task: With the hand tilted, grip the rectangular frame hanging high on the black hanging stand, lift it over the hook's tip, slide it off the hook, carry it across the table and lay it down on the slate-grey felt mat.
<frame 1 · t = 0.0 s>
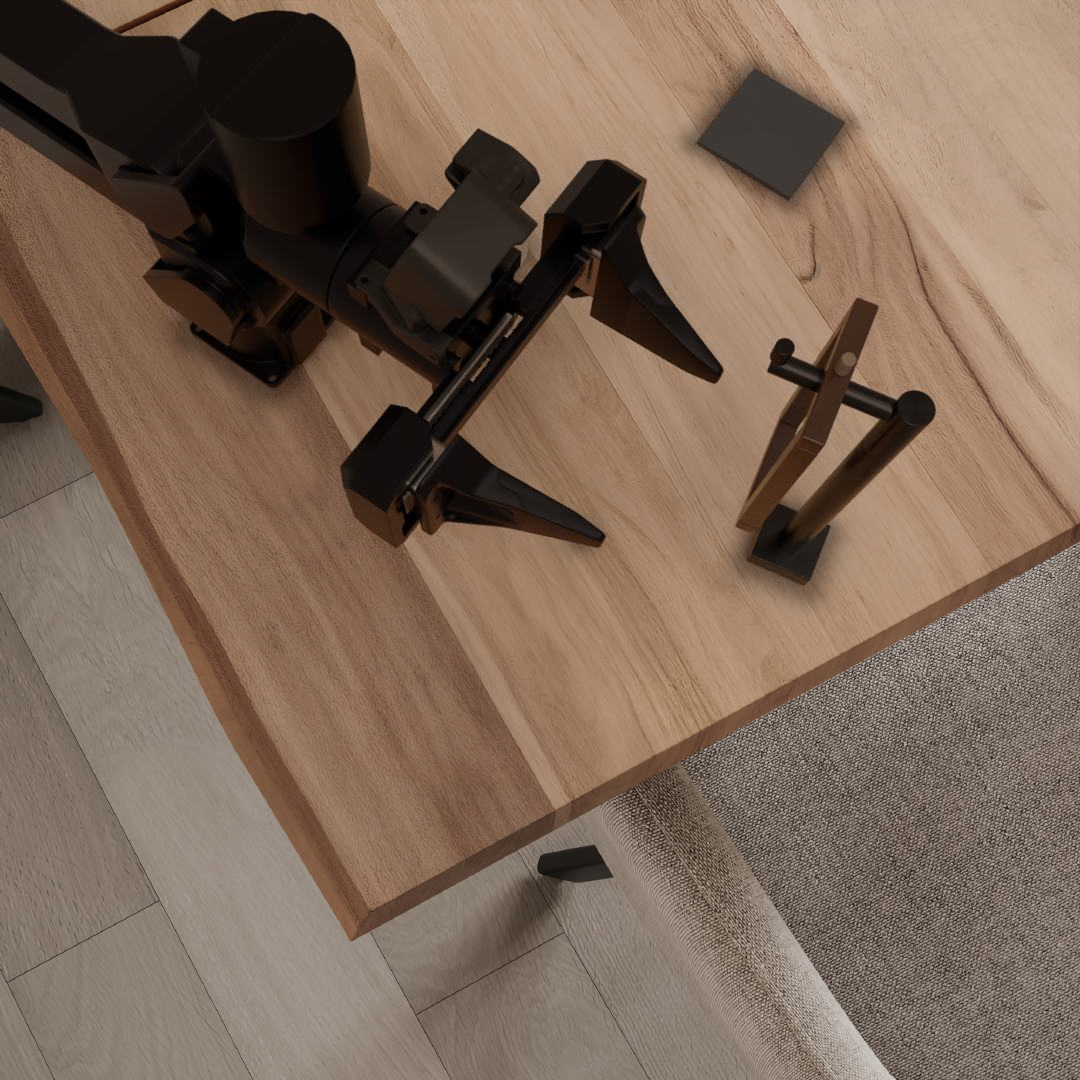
hand: (663, 457, 46), 17 cm above the table, tool horizontal, fingers open, 9 cm apart
felt mat: (770, 135, 71), on the table
rectangular frame: (767, 472, 55), point 8 cm above the table, touching black hanging stand
black hanging stand: (785, 546, 63), on the table
rook chess piece: (492, 252, 68), on the table
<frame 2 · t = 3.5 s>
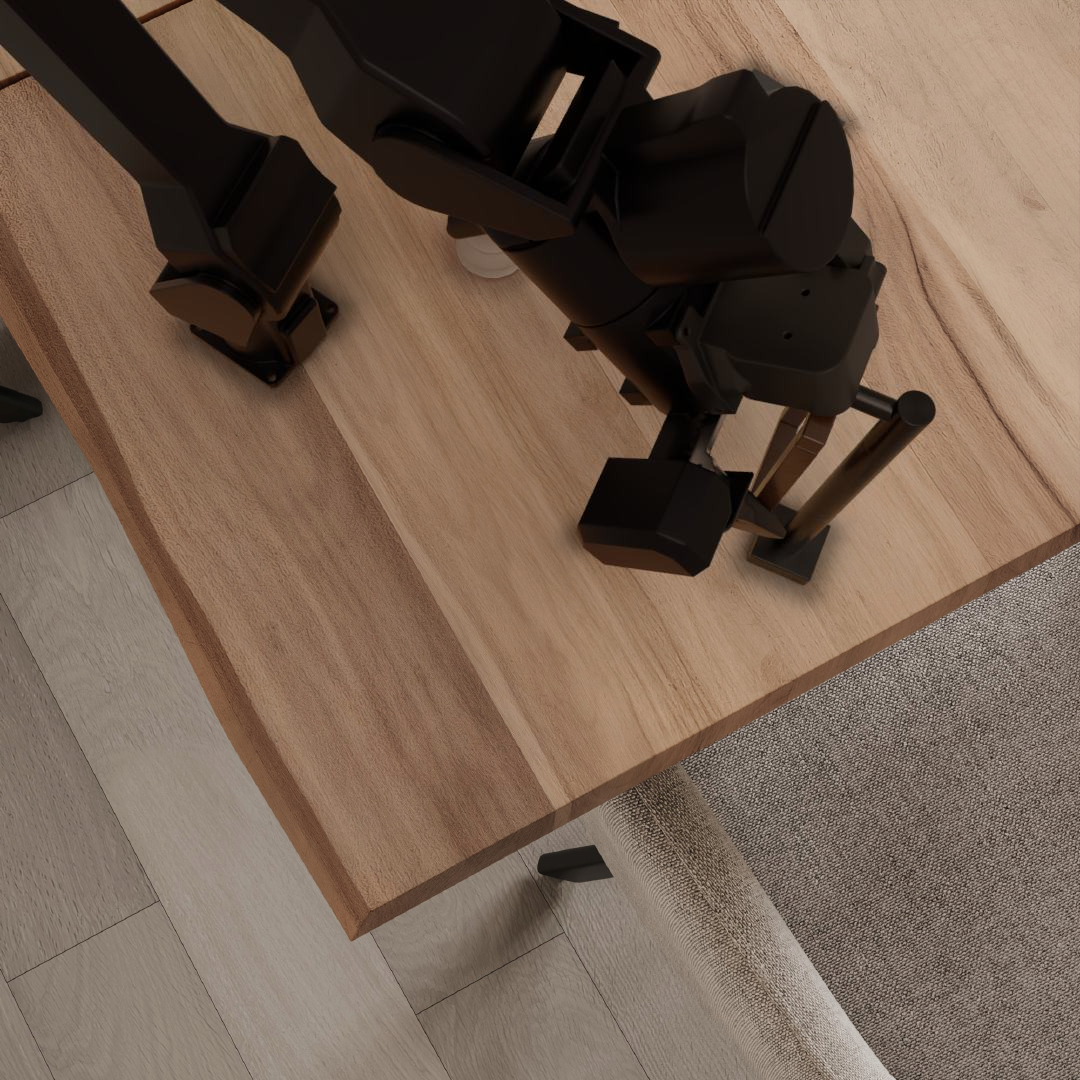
hand: (801, 472, 54), 10 cm above the table, tool tilted 45°, fingers closed on rectangular frame, 7 cm apart
rectangular frame: (767, 472, 55), point 9 cm above the table, touching black hanging stand, gripper
everything else where it was.
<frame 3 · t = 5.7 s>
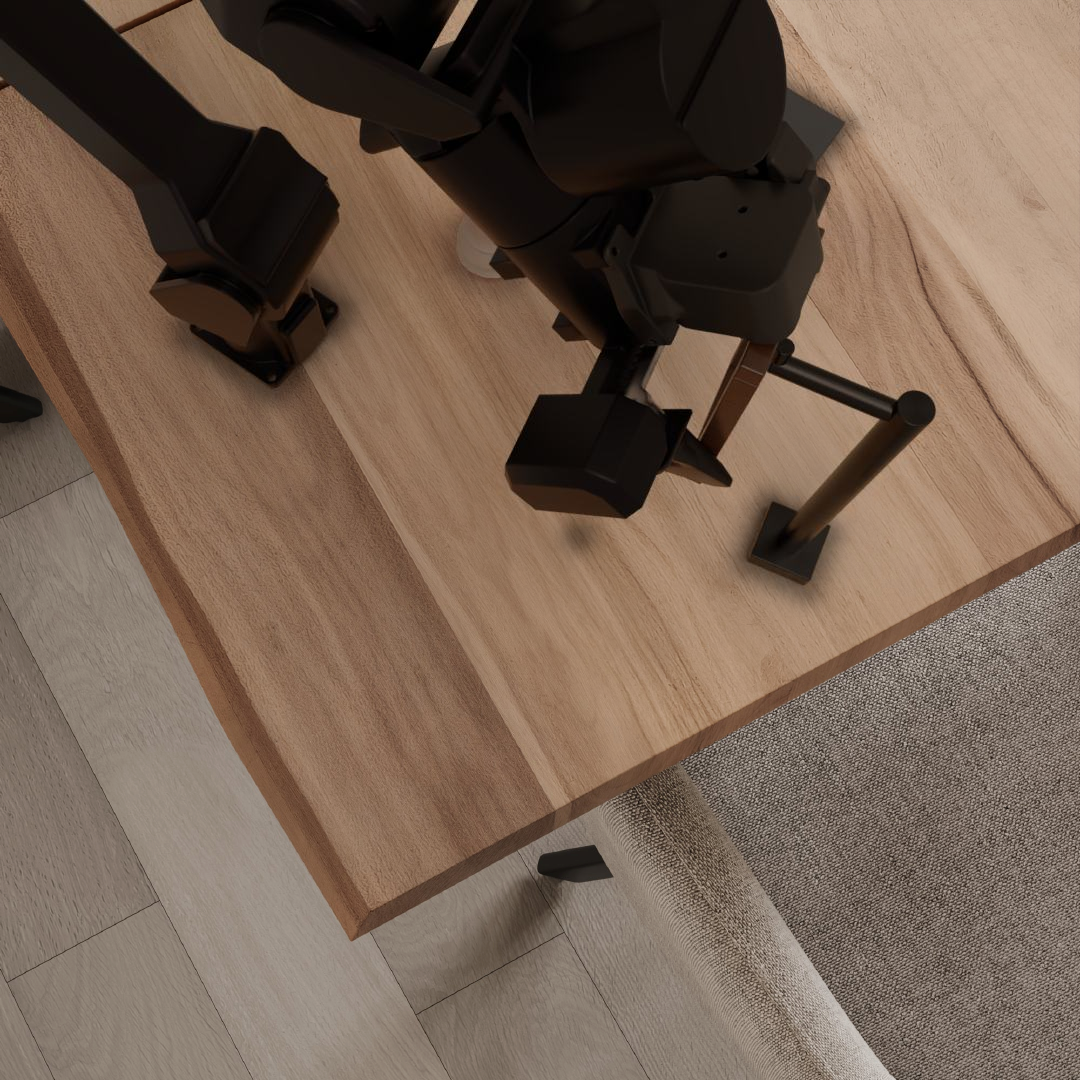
hand: (750, 418, 51), 13 cm above the table, tool tilted 45°, fingers closed on rectangular frame, 7 cm apart
rectangular frame: (716, 419, 52), point 12 cm above the table, touching gripper
everything else where it was.
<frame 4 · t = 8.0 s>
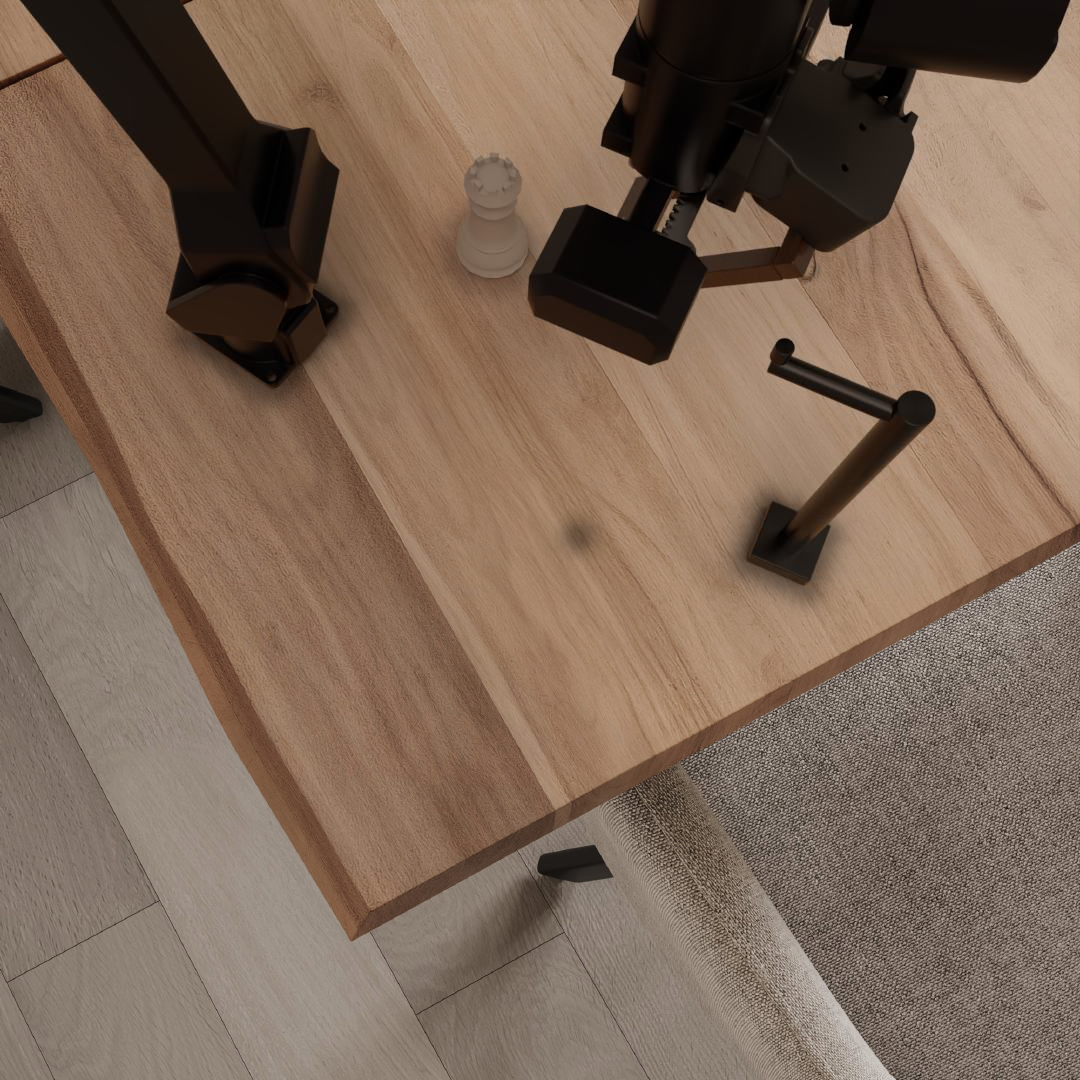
hand: (654, 253, 53), 13 cm above the table, tool pointing down, fingers closed on rectangular frame, 7 cm apart
rectangular frame: (614, 237, 54), point 13 cm above the table, tilted 45°, touching gripper
everything else where it was.
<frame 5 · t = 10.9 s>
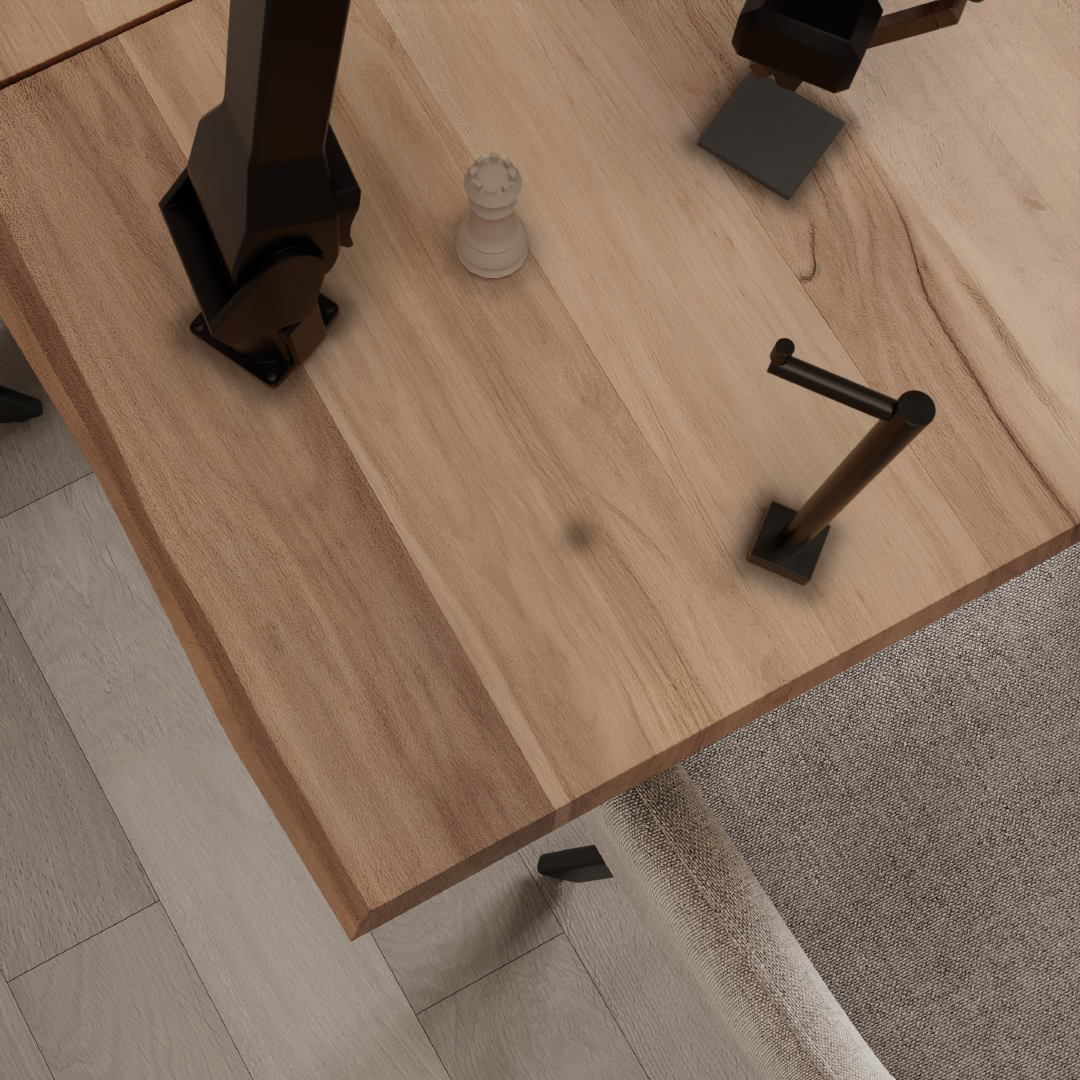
hand: (806, 40, 63), 9 cm above the table, tool pointing down, fingers closed on rectangular frame, 7 cm apart
rectangular frame: (772, 28, 63), point 8 cm above the table, tilted 45°, touching gripper
everything else where it was.
when the fingers open (3 cm above the table, at t = 13.1 s): rectangular frame drops 2 cm and tips over, resting on felt mat.
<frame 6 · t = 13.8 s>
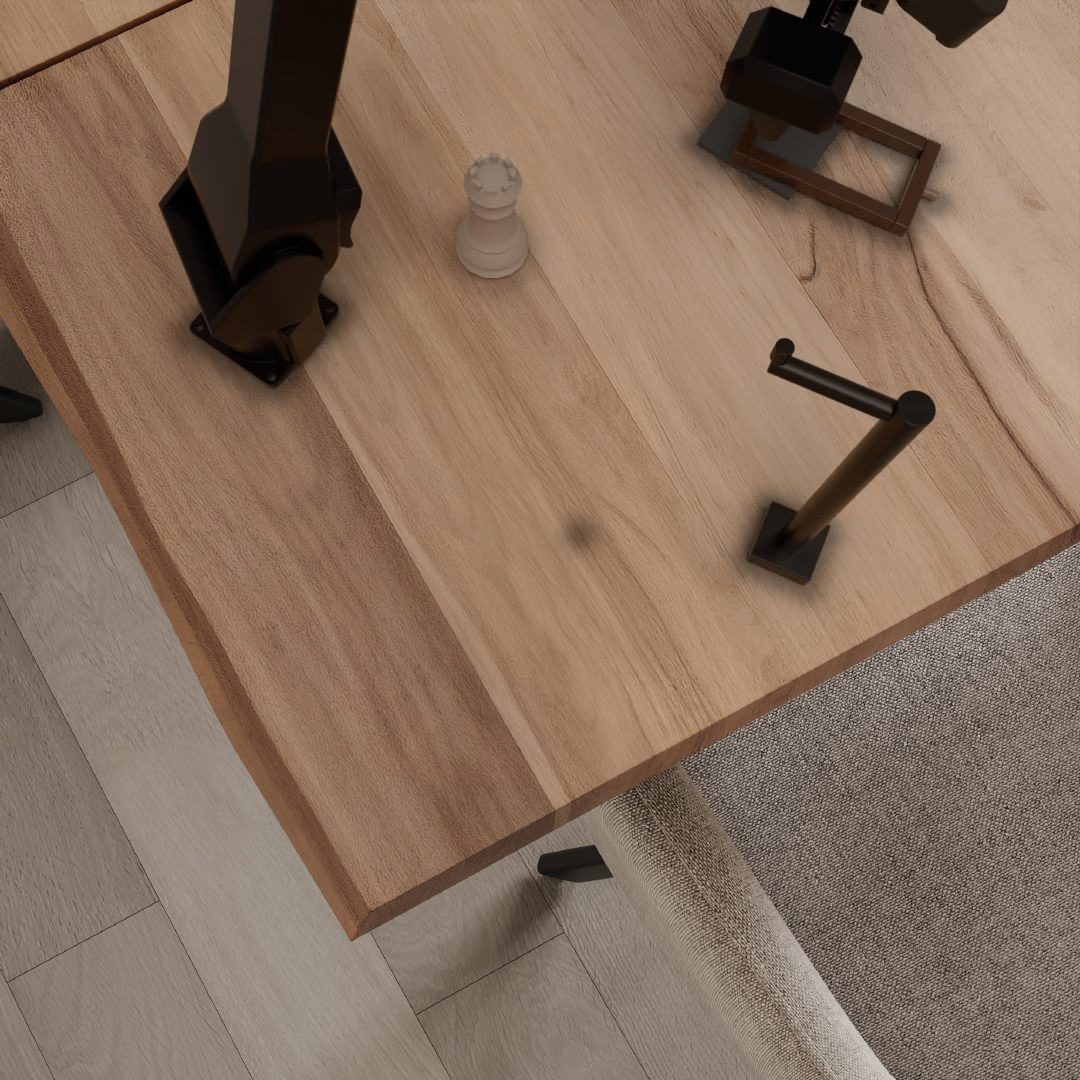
hand: (793, 77, 66), 5 cm above the table, tool pointing down, fingers open, 9 cm apart
rectangular frame: (750, 113, 70), point 1 cm above the table, tilted 93°, touching felt mat
everything else where it was.
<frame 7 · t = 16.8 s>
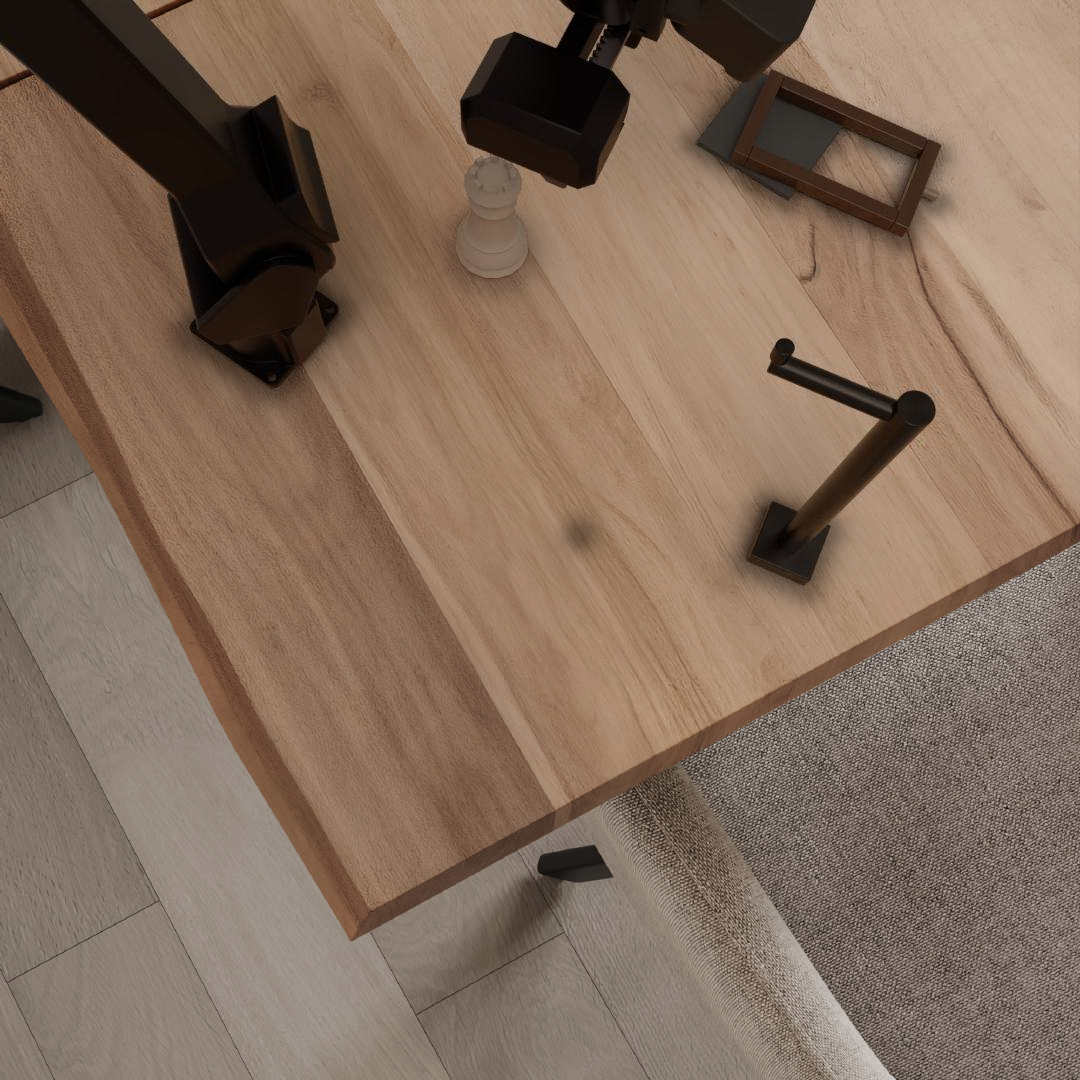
hand: (593, 112, 55), 13 cm above the table, tool pointing down, fingers open, 9 cm apart
nothing on the table moved.
at the end: rectangular frame moved 28.1 cm from its start; rectangular frame inside the target area on the felt mat (1.6 cm from its centre), point 1.2 cm above the felt mat's base; the gripper is holding nothing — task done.
